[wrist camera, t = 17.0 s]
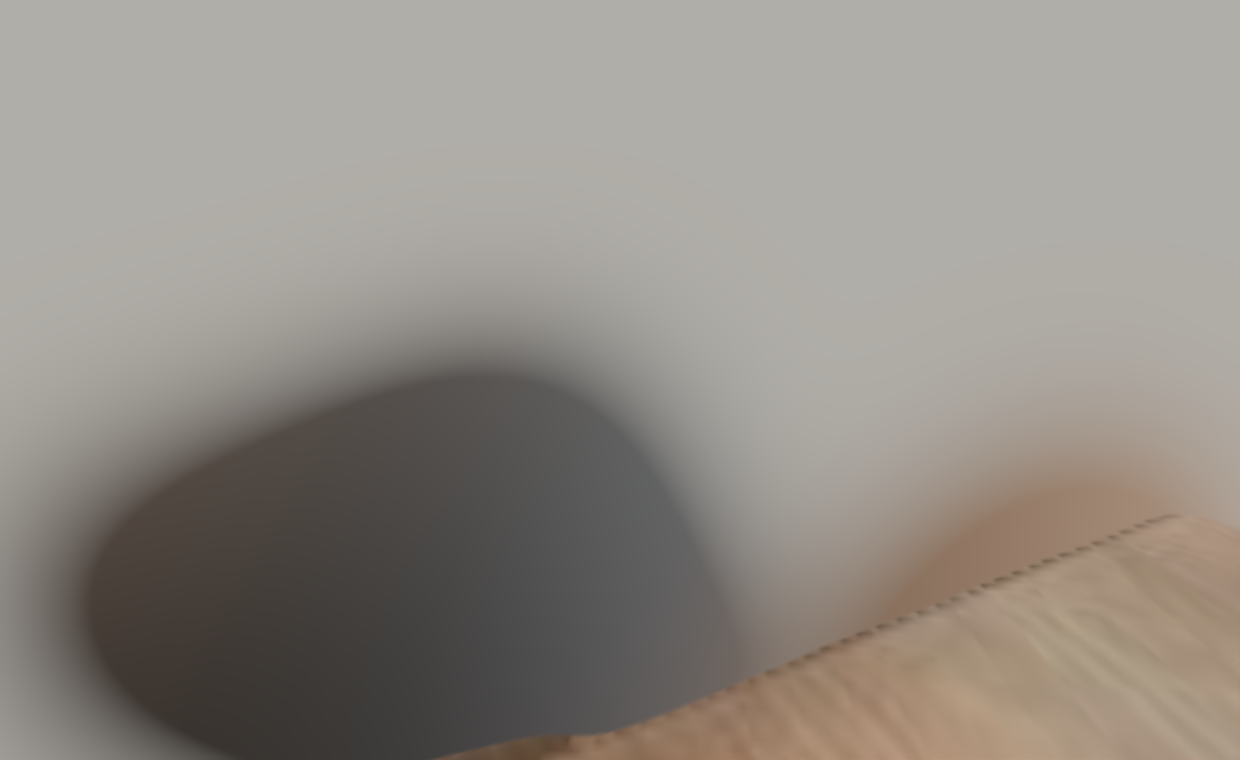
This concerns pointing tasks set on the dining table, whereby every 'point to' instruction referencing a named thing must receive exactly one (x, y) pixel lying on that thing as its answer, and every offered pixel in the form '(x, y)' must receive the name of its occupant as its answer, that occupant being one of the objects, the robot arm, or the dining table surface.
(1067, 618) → the dining table surface
